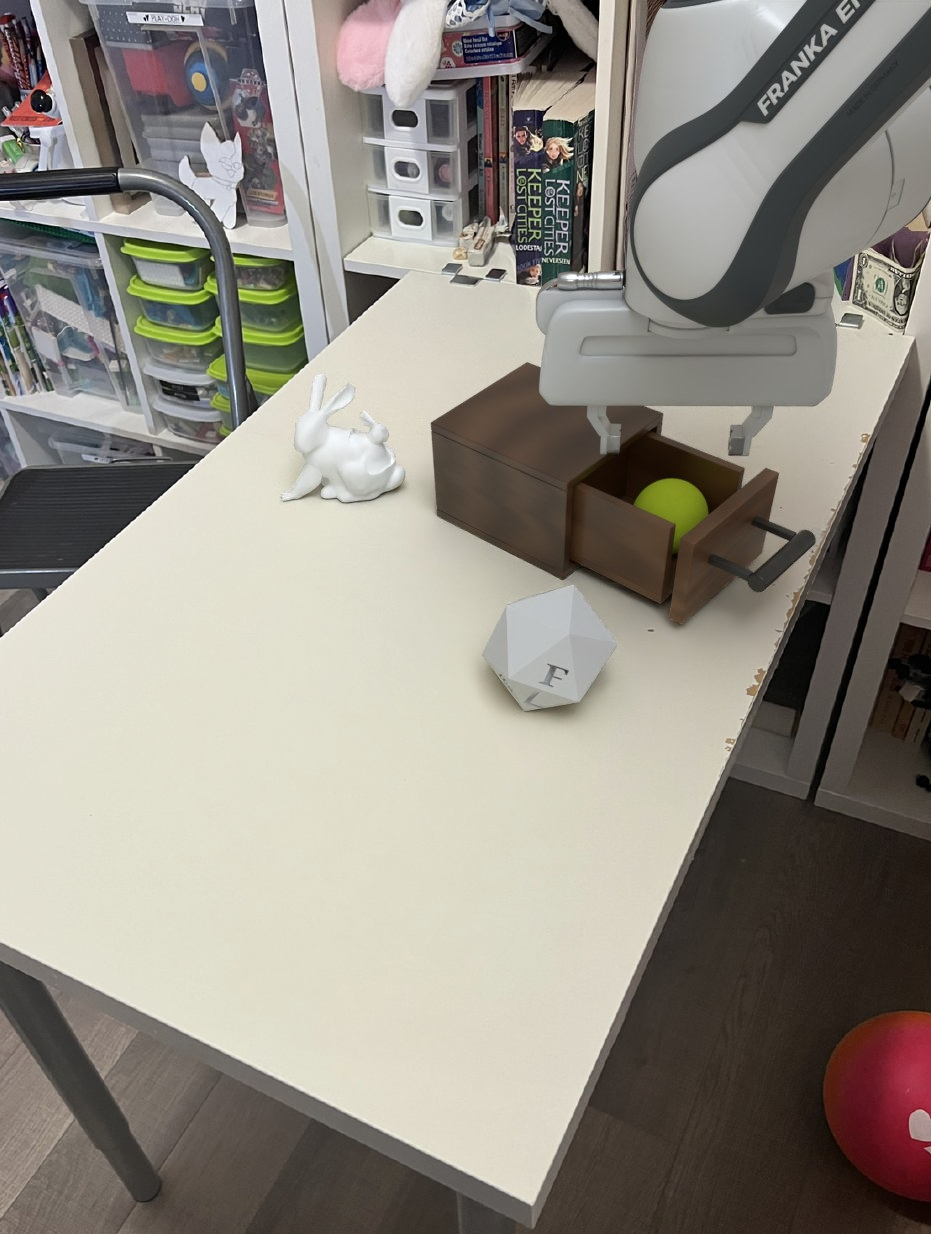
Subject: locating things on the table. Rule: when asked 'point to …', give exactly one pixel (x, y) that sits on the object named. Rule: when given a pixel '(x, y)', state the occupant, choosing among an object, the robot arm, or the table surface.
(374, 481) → the rabbit figurine
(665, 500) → the ball
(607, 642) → the die
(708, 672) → the table surface
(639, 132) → the robot arm
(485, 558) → the table surface
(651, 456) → the drawer
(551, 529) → the cabinet
